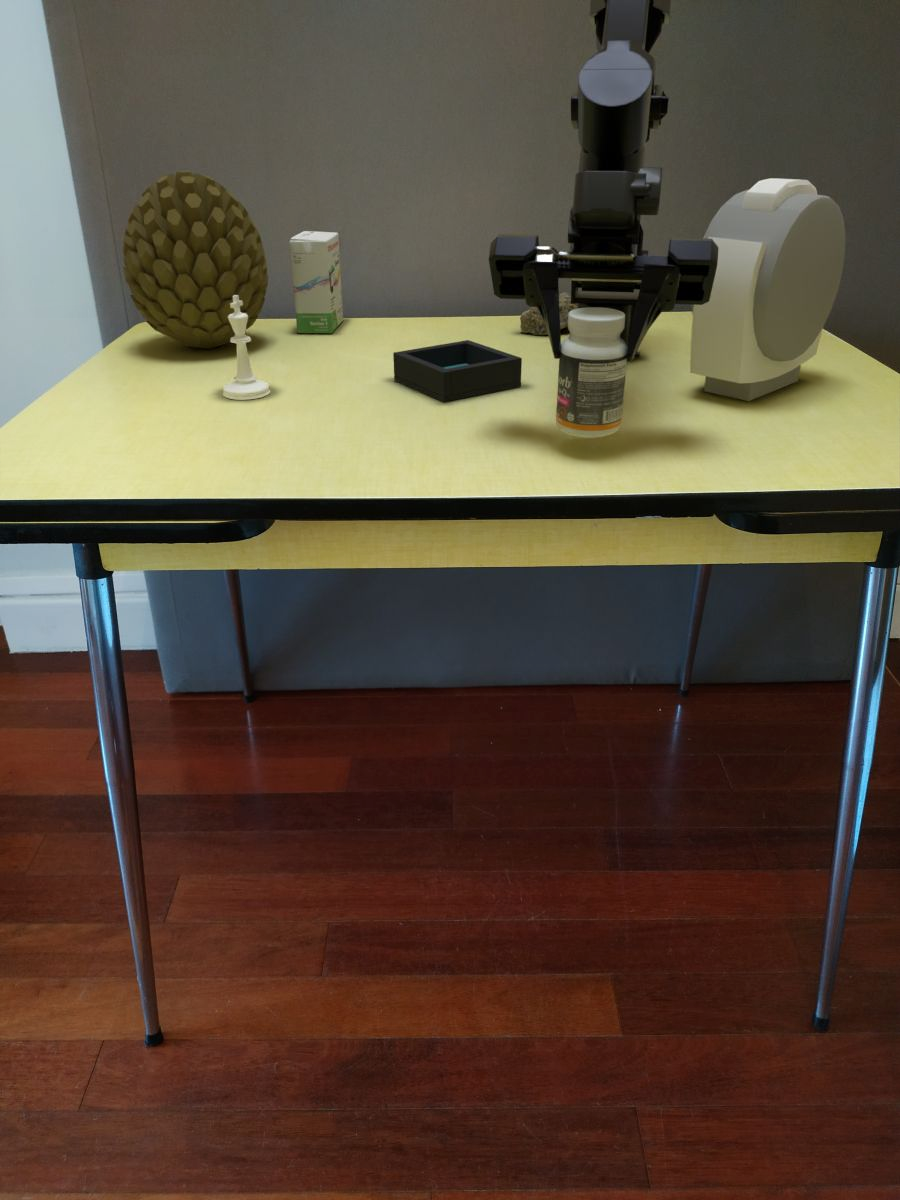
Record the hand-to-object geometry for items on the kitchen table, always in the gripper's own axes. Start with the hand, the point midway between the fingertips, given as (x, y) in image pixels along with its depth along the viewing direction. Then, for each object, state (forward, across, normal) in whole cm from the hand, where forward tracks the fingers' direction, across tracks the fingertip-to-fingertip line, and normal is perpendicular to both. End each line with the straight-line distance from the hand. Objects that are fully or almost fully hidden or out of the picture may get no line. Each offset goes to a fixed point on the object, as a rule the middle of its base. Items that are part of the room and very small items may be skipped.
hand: (592, 357), depth 75 cm
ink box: (-25, -39, +38) cm, 60 cm away
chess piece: (-3, -36, +15) cm, 40 cm away
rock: (-27, -8, +40) cm, 50 cm away
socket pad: (-8, -15, +20) cm, 27 cm away
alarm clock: (-11, +16, +23) cm, 30 cm away
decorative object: (-16, -50, +29) cm, 59 cm away
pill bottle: (+4, 0, +6) cm, 7 cm away
